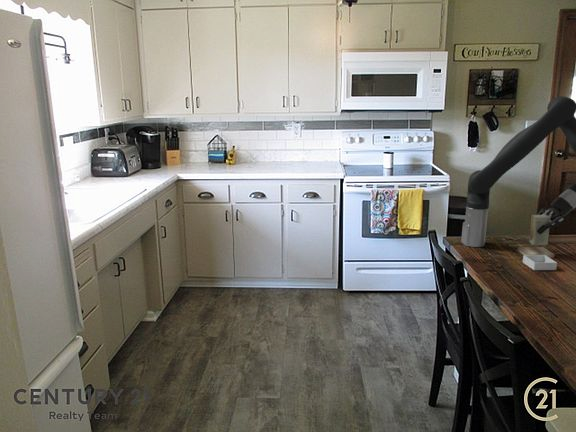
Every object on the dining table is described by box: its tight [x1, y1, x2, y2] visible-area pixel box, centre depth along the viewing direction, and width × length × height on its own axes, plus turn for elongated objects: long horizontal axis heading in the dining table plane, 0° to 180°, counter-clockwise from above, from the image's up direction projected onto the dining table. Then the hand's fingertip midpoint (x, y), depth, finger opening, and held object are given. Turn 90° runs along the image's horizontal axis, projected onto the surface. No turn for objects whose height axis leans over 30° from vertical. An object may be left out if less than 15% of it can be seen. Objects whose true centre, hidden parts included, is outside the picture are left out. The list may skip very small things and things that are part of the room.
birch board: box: [517, 246, 555, 259], centre depth 207 cm, size 11×9×2 cm
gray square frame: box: [522, 254, 558, 271], centre depth 193 cm, size 9×9×3 cm
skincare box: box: [528, 214, 550, 246], centre depth 205 cm, size 6×4×12 cm
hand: (534, 230), depth 205 cm, fingers closed on skincare box, 4 cm apart
